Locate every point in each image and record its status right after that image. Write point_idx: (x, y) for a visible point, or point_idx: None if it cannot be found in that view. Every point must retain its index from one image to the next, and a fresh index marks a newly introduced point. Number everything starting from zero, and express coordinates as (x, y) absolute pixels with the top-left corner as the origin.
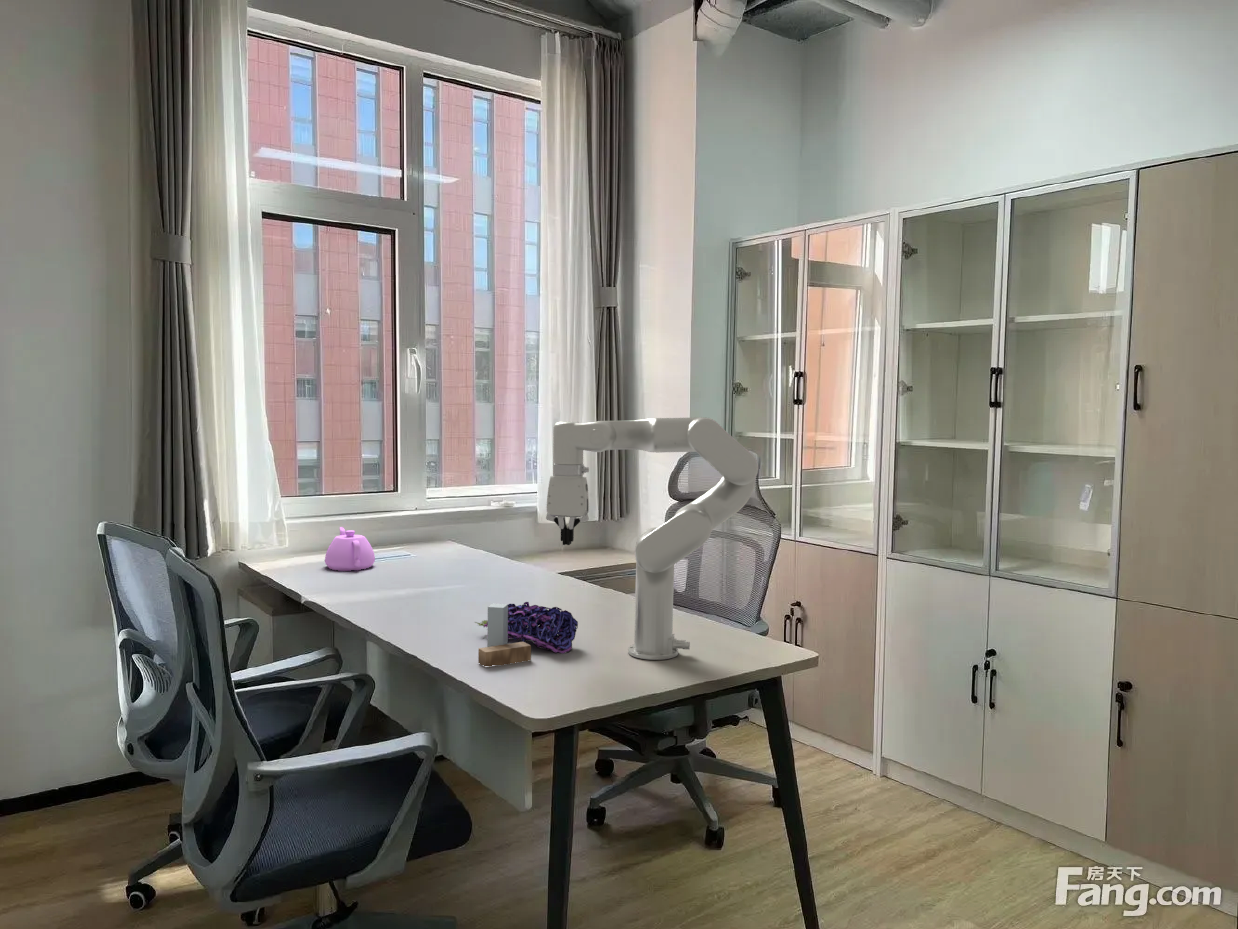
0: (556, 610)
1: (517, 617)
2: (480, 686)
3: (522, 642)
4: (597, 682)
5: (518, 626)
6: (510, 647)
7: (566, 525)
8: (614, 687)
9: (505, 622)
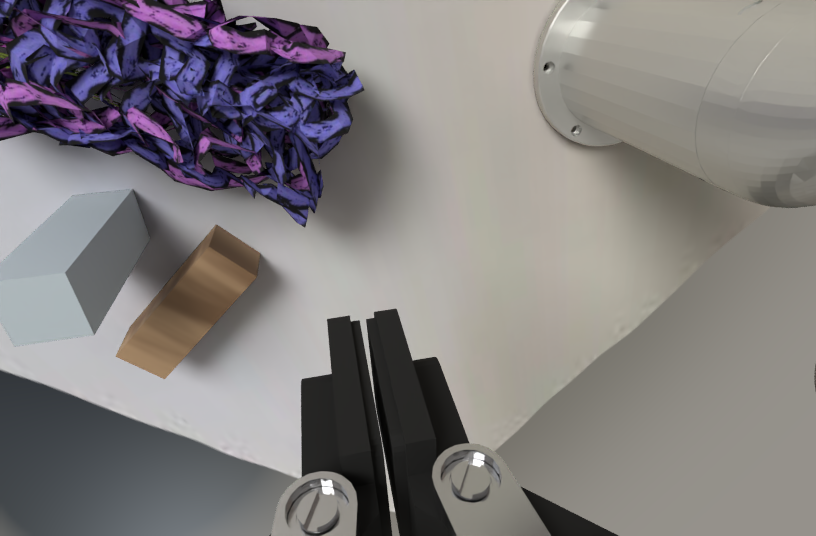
0: (266, 118)
1: (80, 142)
2: (244, 448)
3: (211, 256)
4: (480, 346)
5: None
6: (206, 317)
7: (374, 520)
8: (520, 360)
9: (105, 267)
